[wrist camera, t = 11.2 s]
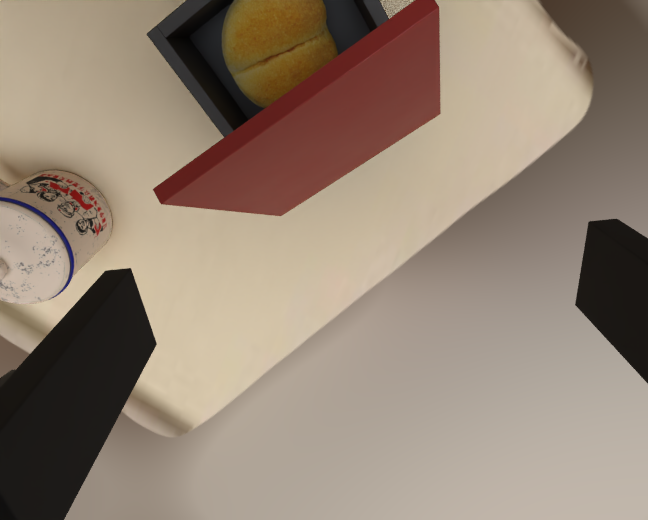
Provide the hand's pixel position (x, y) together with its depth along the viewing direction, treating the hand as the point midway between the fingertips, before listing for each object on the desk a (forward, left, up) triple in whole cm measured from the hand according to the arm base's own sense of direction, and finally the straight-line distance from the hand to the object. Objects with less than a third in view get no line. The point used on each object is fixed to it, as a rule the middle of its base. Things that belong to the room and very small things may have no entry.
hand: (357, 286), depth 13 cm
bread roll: (-7, 0, -27) cm, 28 cm away
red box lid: (-1, 0, -15) cm, 15 cm away
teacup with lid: (-8, -26, -29) cm, 40 cm away
